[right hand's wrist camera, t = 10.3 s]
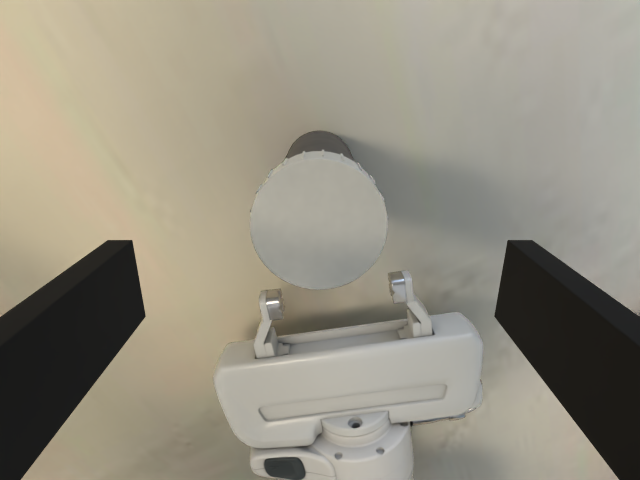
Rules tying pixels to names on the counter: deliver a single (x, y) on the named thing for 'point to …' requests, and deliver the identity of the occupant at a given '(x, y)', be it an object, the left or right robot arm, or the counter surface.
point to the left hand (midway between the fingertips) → (334, 283)
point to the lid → (318, 220)
